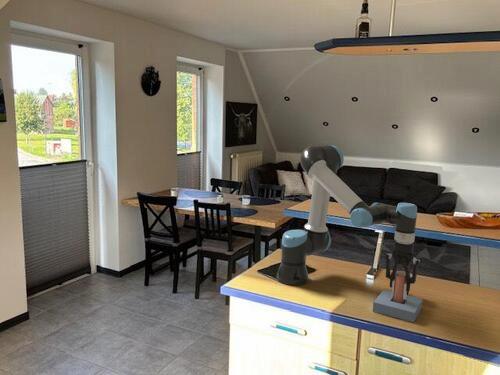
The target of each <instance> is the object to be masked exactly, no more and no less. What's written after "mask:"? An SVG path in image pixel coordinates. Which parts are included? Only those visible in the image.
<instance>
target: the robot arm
mask: <svg viewBox="0 0 500 375" xmlns="http://www.w3.org/2000/svg"><path fill="white" fill-rule="evenodd" d="M344 159H345V158H344V154H343V152H342V151H341V149H340V148H339V147H338V146H336V145H333V144H331V145H330V144H325V145H323V144H322V145H321V144H320V145H309V146H307V147H305V148H304V149H303V151H302V152H301V154H300V159H299V161H300V167H301V168H302V169H303V171H304V172H305V174H306V175H308V176H309V177H310V178H311V179H313V183H312V184H313V185H312V192H311V199H310V206H309V212H308V219H307V220H308V221H307V223H305V224H304V226H303V229H290V230H287V231H285V232H284V233H283V234H282V238H281V239H282V240H281V253H280V254H281V256H280V257H281V259H280V260H281V262H280V265H279V266H278V270H277V273H276V280H277V279H278V280H277V281H278V282H279V281H280V283H281V284H284V285H290V286H300V285H301V286H302V285H305V284H307V283H308V282H309V273H308V270H307V266H306V263H307V262H306V261H307V260H306V259H307V257H308V256H313V255H316V254H317V255H318V254H321V253H323V252H325V251H327V250H329V248H330V246H331V243H332V237H331V234H330V232H329V228H328V227H327V225H326V224H327V217H328V211H329V205H330V204H329V203H330V197H332V198H333V199H334V200H335V201H336V202H337V203H338V204H339V205H340V206H341V207H342V208H343V209H344V210H345V211H346V212H347V213H348V214H349V215H350V218H349V219H350V221H351V224H352V225H353V226H354V227H356V228H368V227H371V226H375V225H380V224H389V225H393V226H395V228H394V242H393V248H392V249H393V250H392V252H391V253H389V252H387V253H386V254H385V255H384V257H385V260H386V263H385V265H386V266H385V278H386V279H389V288H391V291H392V294H391V296H394V287H395V279H394V278H395V275H396V272H397V271H398V270H399V269H398V268H399V265H403V267H404V272H405V274H406V282H405V284H404V293H403V299H406V296H407V291H408V292H410V289H411V285H412V284H413V285H414V284H416V281H417V273H418V269H419V268H418V267H419V264H420V262H421V259H419V258H418V259H417V258H416V257H415V256H414V248H415V247H414V246H415V243H414V242H415V238H416V225H417V218H418V206H417V205H416V204H414V203H410V202H399V203H398V204H397V206H396V205H395V206H394V205H392V204H386V203H383V202H373V203H372V204H371V205H368V204H367V203H366V202H364V201H363V200H362V198H361V197H360V196H358V195H357V194H356V193H355V192H354V191H353V190H352V189H351V188H350V187H349V186H348V185H347V184H346V183H345V182H344V181H343V180H342V179H341V178H340V177H339V176H338V174H337V172H338V170H339V169H340V168H341V167H342V166H343V165H344ZM392 258H393V260H394V266H393V269H392V274H391V268H392V266H391V265H392ZM412 261H413V262H412ZM411 262H412V263H413V268H412V280H411V278H410V274H411V269H410V263H411Z"/></svg>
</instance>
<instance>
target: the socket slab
mask: <svg viewBox="0 0 500 375" xmlns="http://www.w3.org/2000/svg"><path fill="white" fill-rule="evenodd" d="M391 294H392V290H388V289H385V288H384V289H383V290H382V291H381V293H379V295H378V296H377V297H376V298H375V300H373V302H372V312H374V313H377V314H381V315H385V316H387V317H388V316H389V317H392V318H397V319H399V320H403V321H406V322H411V323H415V321H416V319H417V317H418V316H419V314H420V312H421V310H422V308H423V303H424V302H423V300H424V298H421V297H417V296H413V295H409V294H408V295H407V296H406V299H404V302H403V304H400V303H396V302H393V298H394V296H391Z"/></svg>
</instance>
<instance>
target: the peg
mask: <svg viewBox="0 0 500 375" xmlns="http://www.w3.org/2000/svg"><path fill="white" fill-rule="evenodd" d="M405 282H406V275H404V274H396V276H395V287H394V298H393V302H396V303H400V304H403V302H404V299H403V293H404V284H405Z"/></svg>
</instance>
